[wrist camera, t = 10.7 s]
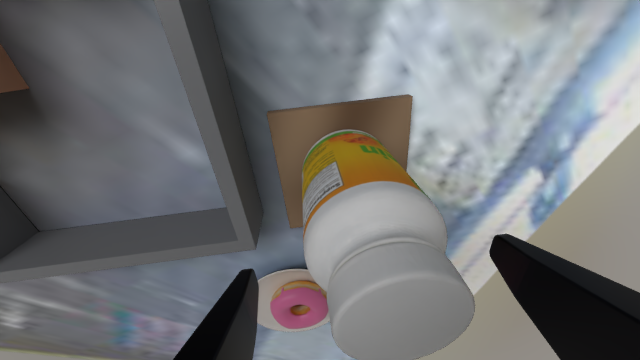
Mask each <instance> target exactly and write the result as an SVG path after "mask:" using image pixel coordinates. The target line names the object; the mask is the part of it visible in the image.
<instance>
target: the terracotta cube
mask: <svg viewBox="0 0 640 360" xmlns="http://www.w3.org/2000/svg"><path fill="white" fill-rule="evenodd" d="M23 89H29V87H28V86H27V84H26V82H25V81H24V79H23V78H22V76H21V75H20V73H19V72H18V70H17V69H16V67H15V65H14V64H13V62H12V61H11V59H10V58H9V56H8V55H7V53H6V51H5V50H4V48H3V47H2V45H1V44H0V93H4V92H10V91H17V90H23Z"/></svg>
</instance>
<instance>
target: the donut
mask: <svg viewBox="0 0 640 360" xmlns="http://www.w3.org/2000/svg"><path fill="white" fill-rule="evenodd" d="M258 284H259V298H258V316H257V323H259V324H260V325H262V326H264V327H267V328H269V329H273V330H277V331H283V332H300V331H306V330H311V329H314V328H317V327H320V326H322V325H324V324H326V323H327V322H329V321H330V316H329V309H328V305H327V292H326V291H325V290H323V289H322V288H321V287H320V286H319V285H318V284H317V283H316V282H315V280H314V279H313V277H312V276H311V274H310V272H309V270H308V269H286V270H281V271H277V272H274V273H271V274H268V275H266V276H264V277H263V278H261V279H259V280H258Z"/></svg>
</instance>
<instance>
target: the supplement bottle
mask: <svg viewBox="0 0 640 360" xmlns="http://www.w3.org/2000/svg"><path fill="white" fill-rule="evenodd" d="M302 204H303V247H304V256H305V261H306V265H307V268H308V270H309V272H310V274H311V276H312V277H313V279H314V280H315V282H316V283H317V284H318V285H319V286H320V287H321V288H322V289H323V290H325V291H326V292H327V305H328V309H329V316H330V323H331V330H332V335H333V338H334V340H335V342H336V344H337V346H338V347H339V348H340V349H341V350H342V351H343V352H344V353H346V354H347V355H349V356H351V357H353V358H355V359H358V360H414V359H418V358H420V357H423V356H426V355H429V354H432V353H434V352H436V351H437V350H440V349H442V348H444V347H446V346H447V345H449V344H450V343H451V342H453V341H454V340H455V339H456V338H458V337H459V336H460V335H461V334H462V333H463V332H464V331H465V330H466V328H467V327H468V326H469V324H470V322H471V320H472V318H473V315H474V312H475V301H474V297H473V295H472V293H471V291H470V289H469V288H468V286H467V285H466V283H465V282H464V280H463V279H462V277H461V276H460V274H459V273H458V271H457V270H456V268H455V267H454V266H453V264H452V263H451V261H450V260H449V259H448V258H447V256H446V255H445V251H446V247H447V231H446V226H445V222H444V220H443V217H442V215H441V214H440V212H439V210H438V209H437V208H436V206H435V205H434V204H433V202H432V201H431V200H430V199H429V197H428V196H427V195H426V194H425V193H424V192H423V191H422V189H421V188H420V187H419V186H418V185H417V184H416V183H415V181H414V180H413V179H412V178H411V177H410V176H409V175H408V173H407V172H406V171H405V170H404V169H403V168H402V167H401V165H400V164H399V163H398V162H397V161H396V160H395V159H394V157H393V156H392V155H391V154H390V153H389V152H388V150H387V149H386V148H385V147H384V146H383V145H382V144H381V143H380V142H379V141H378V140H377V139H376V138H375V137H373V136H372V135H370V134H368V133H366V132H363V131H359V130H351V129H347V130H339V131H335V132H332V133H330V134H328V135H326V136H324V137H323V138H321V139H320V140H319V141H317V142H316V143H315V144H314V145H313V146H312V148H311V149H310V150H309V152H308V153H307V155H306V157H305V160H304V163H303V168H302Z"/></svg>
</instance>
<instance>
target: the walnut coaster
mask: <svg viewBox="0 0 640 360" xmlns="http://www.w3.org/2000/svg"><path fill="white" fill-rule="evenodd" d="M412 97H413V96H411V95H399V96H391V97H383V98H374V99H366V100H358V101H349V102H341V103H333V104H324V105H316V106H308V107H300V108H291V109H283V110H275V111H268V112H267V117H268V122H269V127H270V132H271V137H272V142H273V146H274V151H275V156H276V161H277V166H278V171H279V176H280V180H281V185H282V190H283V195H284V200H285V205H286V210H287V215H288V219H289V224H290V228H297V227H303V204H302V168H303V163H304V160H305V157H306V155H307V153H308V152H309V150H310V149H311V148H312V146H313V145H314V144H315V143H316V142H317V141H319V140H320V139H321V138H323V137H324V136H326V135H328V134H330V133H332V132H335V131H339V130H347V129H351V130H359V131H363V132H366V133H368V134H370V135H372V136H373V137H375V138H376V139H377V140H378V141H379V142H380V143H381V144H382V145H383V146H384V147H385V148H386V149H387V150H388V152H389V153H390V154H391V155H392V156H393V157H394V159H395V160H396V161H397V162H398V163H399V164H400V165H401V167H402V168H403V169H404V170H405V171H406V169H407V157H408V145H409V133H410V121H411V109H412Z"/></svg>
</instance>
